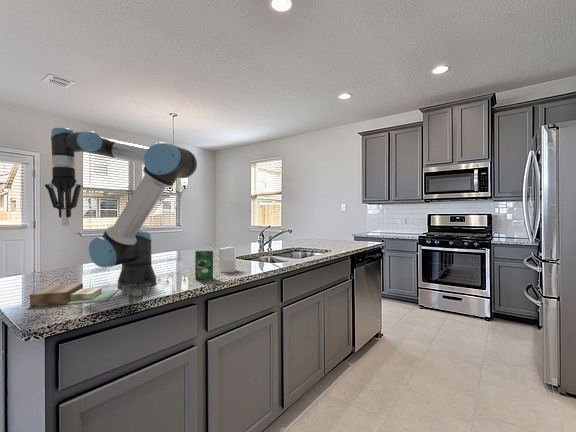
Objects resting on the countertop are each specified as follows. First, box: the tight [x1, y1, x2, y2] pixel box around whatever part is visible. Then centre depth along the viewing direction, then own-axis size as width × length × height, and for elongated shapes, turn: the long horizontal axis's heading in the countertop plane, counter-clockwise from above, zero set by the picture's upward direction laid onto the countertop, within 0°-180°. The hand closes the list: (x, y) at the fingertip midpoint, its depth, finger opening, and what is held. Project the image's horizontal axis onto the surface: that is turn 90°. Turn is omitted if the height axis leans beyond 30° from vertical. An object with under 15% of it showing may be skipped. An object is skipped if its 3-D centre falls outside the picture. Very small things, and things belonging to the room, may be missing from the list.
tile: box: [70, 287, 103, 300], centre depth 117 cm, size 7×9×2 cm
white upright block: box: [217, 246, 237, 274], centre depth 166 cm, size 9×9×12 cm
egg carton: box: [121, 283, 152, 297], centre depth 123 cm, size 11×8×4 cm
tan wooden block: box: [29, 283, 84, 307], centre depth 115 cm, size 11×14×4 cm
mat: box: [66, 289, 120, 305], centre depth 118 cm, size 12×16×1 cm
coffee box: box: [194, 250, 214, 281], centre depth 147 cm, size 8×3×13 cm, turn 108°
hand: (65, 225), depth 129 cm, fingers closed
